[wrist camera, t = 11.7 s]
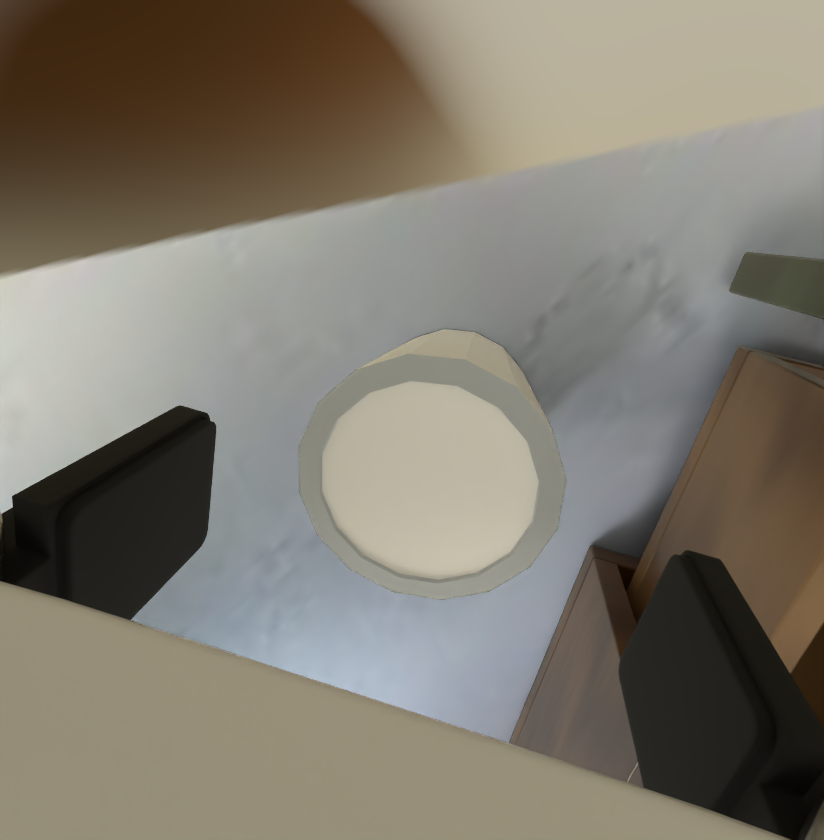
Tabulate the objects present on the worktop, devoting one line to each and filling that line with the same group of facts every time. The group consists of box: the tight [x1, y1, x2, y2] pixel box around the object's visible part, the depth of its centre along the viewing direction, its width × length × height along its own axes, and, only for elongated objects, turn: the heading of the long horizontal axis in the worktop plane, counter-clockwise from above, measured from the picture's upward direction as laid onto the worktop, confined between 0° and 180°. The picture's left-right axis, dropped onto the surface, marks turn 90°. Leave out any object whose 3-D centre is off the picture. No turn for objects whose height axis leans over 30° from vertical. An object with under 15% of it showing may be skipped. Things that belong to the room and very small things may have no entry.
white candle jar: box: [299, 329, 566, 600], centre depth 17 cm, size 7×7×7 cm
